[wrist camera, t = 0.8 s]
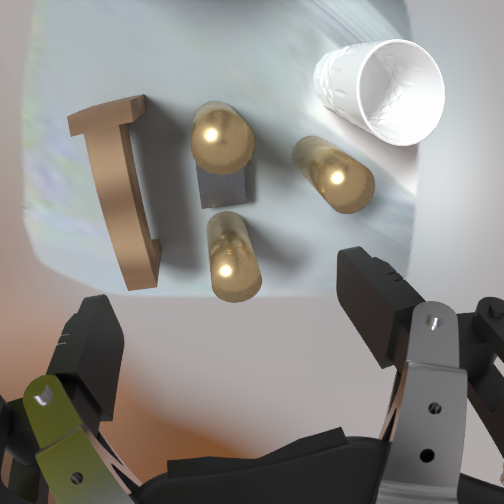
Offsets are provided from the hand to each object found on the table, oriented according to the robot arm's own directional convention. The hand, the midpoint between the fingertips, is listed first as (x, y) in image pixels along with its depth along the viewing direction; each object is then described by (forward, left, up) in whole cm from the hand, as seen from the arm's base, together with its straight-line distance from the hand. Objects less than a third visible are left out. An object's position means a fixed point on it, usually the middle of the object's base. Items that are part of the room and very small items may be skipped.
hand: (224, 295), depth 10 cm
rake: (+2, -7, -21) cm, 22 cm away
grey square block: (+3, +1, -21) cm, 21 cm away
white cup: (-6, +14, -21) cm, 25 cm away
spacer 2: (+9, +1, -21) cm, 22 cm away
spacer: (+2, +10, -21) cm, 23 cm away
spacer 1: (-2, +1, -21) cm, 21 cm away
